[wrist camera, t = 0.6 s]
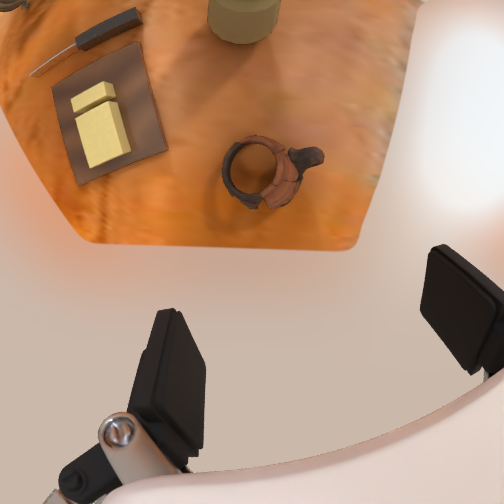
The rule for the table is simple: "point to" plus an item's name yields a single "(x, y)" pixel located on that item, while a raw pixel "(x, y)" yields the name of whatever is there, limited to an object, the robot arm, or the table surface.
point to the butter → (102, 134)
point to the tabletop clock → (13, 5)
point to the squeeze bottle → (243, 19)
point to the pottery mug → (285, 175)
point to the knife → (95, 37)
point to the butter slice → (93, 97)
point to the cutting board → (130, 106)
